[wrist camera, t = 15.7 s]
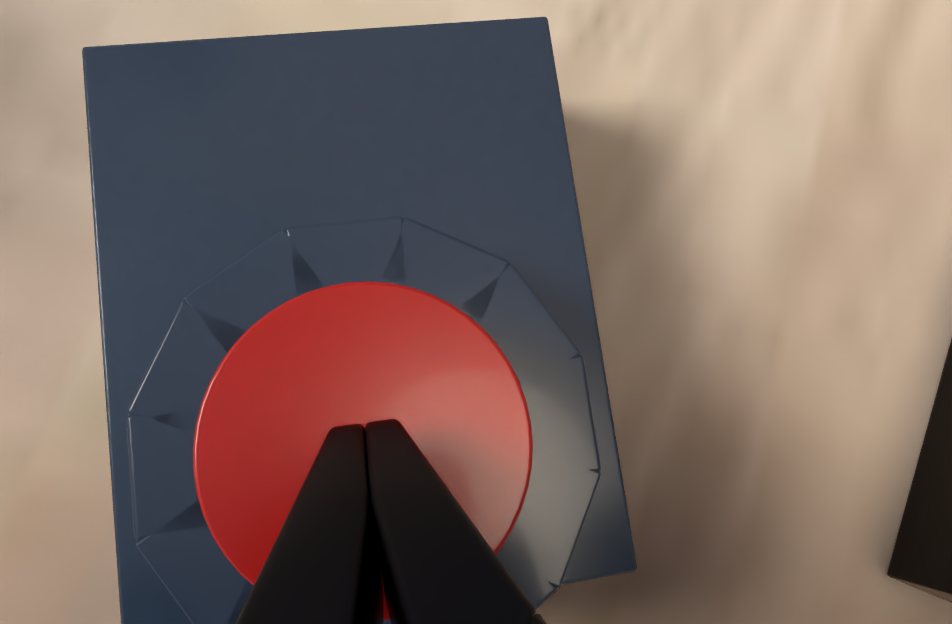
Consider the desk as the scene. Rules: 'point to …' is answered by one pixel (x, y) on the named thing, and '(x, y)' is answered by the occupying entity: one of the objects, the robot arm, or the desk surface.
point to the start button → (357, 409)
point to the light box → (930, 505)
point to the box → (338, 262)
